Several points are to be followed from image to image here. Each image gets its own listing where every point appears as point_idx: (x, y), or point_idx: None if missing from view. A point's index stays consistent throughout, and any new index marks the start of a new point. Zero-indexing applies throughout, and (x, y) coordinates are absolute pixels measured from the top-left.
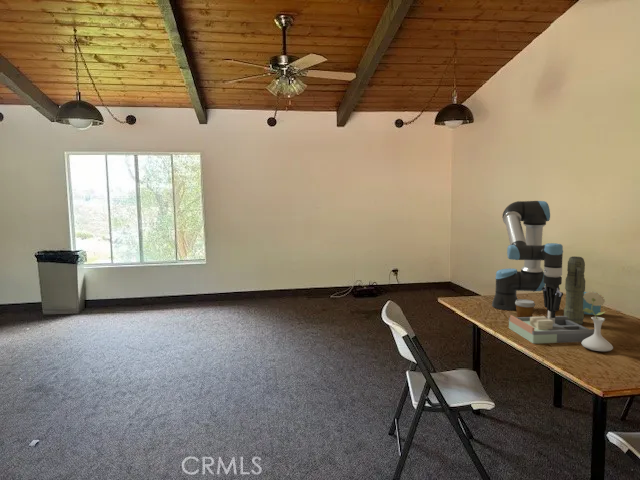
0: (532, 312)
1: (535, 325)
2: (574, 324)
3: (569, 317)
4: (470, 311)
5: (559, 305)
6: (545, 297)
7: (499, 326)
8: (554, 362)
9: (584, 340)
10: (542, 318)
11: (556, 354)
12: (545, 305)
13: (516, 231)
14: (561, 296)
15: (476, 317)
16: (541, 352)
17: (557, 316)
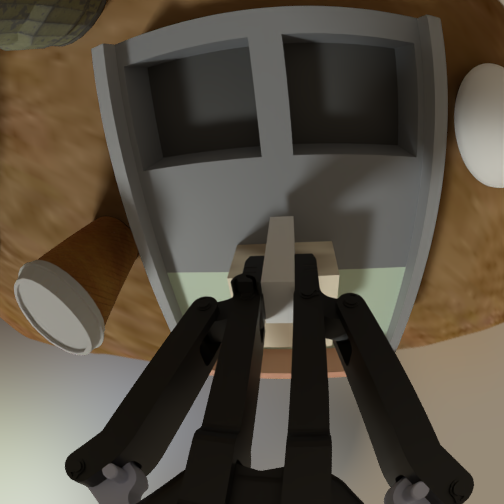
0: (93, 257)
1: None
2: (234, 39)
3: (68, 25)
4: None
5: (389, 347)
6: (183, 414)
7: None
8: (496, 322)
9: (493, 176)
10: None
11: (475, 297)
12: (216, 347)
13: None
14: (445, 455)
15: (102, 348)
16: (447, 327)
17: (106, 112)
